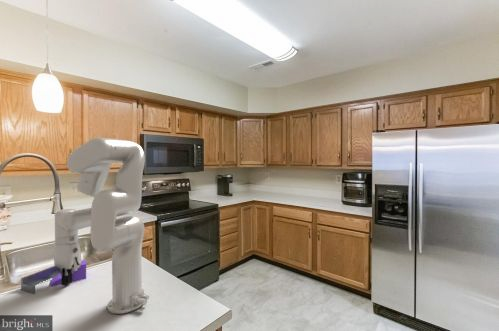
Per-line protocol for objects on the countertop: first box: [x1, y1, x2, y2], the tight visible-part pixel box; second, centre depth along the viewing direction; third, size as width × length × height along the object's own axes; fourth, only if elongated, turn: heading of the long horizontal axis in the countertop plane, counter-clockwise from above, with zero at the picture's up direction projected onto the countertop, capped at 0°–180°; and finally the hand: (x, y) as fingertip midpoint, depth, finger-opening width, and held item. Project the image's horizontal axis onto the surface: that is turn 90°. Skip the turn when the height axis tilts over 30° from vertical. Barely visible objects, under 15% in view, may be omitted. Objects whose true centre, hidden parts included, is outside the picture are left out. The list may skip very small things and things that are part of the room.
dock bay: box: [20, 265, 61, 295], centre depth 102 cm, size 8×17×5 cm, turn 161°
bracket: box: [50, 260, 87, 288], centre depth 104 cm, size 12×7×7 cm, turn 124°
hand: (67, 283), depth 99 cm, fingers closed
